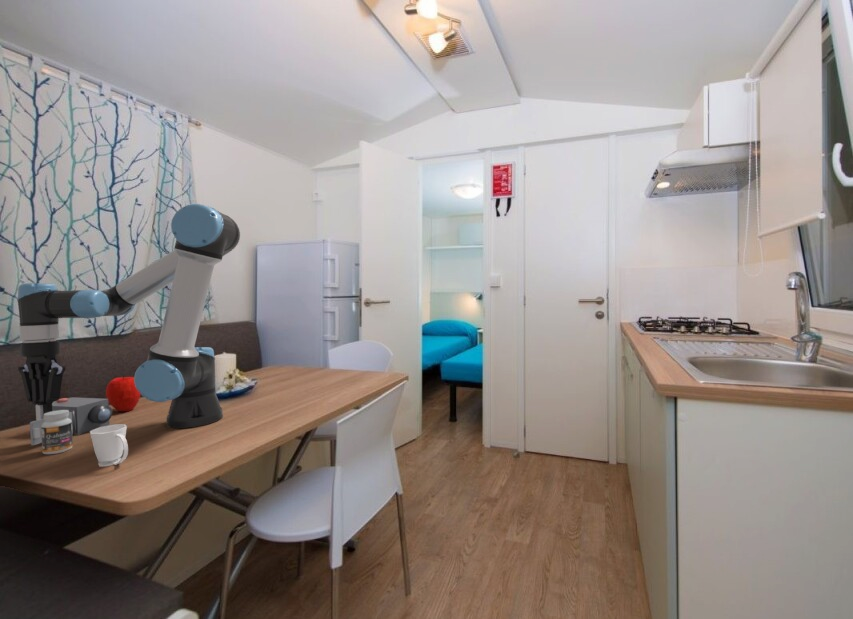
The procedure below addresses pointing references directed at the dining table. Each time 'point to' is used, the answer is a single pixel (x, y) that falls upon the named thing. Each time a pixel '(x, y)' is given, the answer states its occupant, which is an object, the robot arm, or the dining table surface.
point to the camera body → (86, 412)
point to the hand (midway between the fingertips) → (44, 427)
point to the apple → (122, 393)
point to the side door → (36, 428)
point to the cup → (110, 444)
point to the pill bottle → (56, 432)
